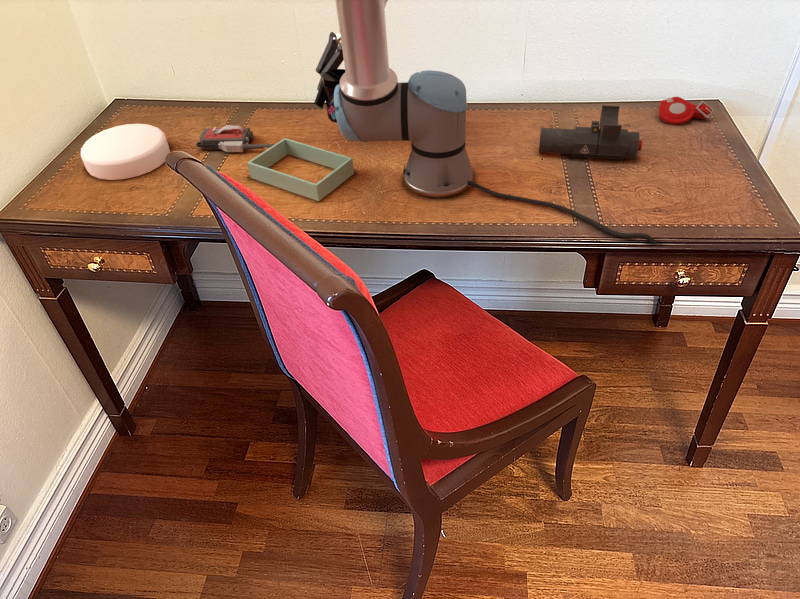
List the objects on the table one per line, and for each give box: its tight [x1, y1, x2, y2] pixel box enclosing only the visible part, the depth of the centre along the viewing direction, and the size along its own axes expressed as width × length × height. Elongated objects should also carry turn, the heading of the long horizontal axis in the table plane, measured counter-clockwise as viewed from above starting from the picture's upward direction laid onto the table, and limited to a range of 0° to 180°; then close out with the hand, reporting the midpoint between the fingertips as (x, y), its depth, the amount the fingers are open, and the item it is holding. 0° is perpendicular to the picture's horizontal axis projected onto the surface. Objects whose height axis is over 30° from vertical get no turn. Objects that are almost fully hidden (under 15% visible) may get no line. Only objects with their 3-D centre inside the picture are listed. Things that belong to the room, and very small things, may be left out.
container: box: [80, 123, 171, 181], centre depth 153 cm, size 20×20×5 cm
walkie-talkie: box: [195, 124, 275, 153], centre depth 155 cm, size 9×4×20 cm
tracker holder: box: [658, 96, 715, 126], centre depth 156 cm, size 12×4×10 cm
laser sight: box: [538, 104, 643, 161], centre depth 142 cm, size 10×22×10 cm, turn 78°
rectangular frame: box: [246, 137, 355, 202], centre depth 143 cm, size 20×13×4 cm, turn 57°
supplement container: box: [322, 68, 345, 124], centre depth 146 cm, size 7×7×10 cm
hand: (331, 109), depth 145 cm, fingers closed on supplement container, 7 cm apart
